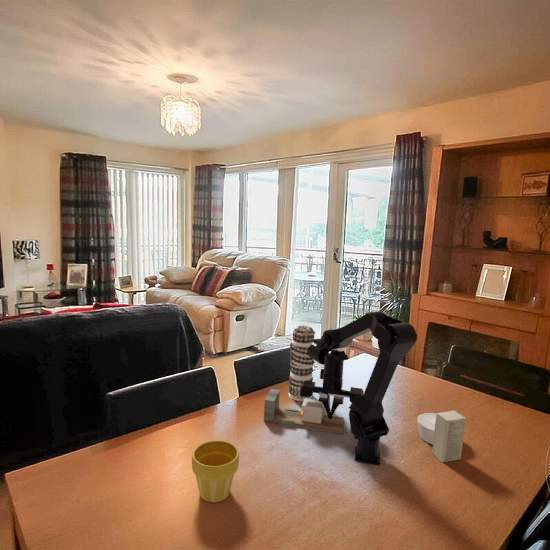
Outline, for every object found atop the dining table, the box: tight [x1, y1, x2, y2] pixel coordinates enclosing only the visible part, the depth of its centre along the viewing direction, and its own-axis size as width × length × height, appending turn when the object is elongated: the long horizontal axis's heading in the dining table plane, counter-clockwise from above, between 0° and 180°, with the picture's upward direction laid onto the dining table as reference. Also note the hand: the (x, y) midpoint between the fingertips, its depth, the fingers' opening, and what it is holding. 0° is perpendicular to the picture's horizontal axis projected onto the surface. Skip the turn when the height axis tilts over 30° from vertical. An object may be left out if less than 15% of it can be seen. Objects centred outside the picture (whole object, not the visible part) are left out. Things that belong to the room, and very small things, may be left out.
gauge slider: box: [300, 398, 324, 424], centre depth 116 cm, size 8×6×5 cm
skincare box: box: [431, 410, 467, 463], centre depth 103 cm, size 6×4×12 cm
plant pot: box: [191, 439, 240, 504], centre depth 86 cm, size 10×10×10 cm
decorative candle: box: [287, 325, 316, 402], centre depth 134 cm, size 9×9×25 cm
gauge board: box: [263, 388, 345, 435], centre depth 118 cm, size 9×24×7 cm, turn 77°
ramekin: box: [416, 412, 437, 446], centre depth 112 cm, size 11×11×5 cm
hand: (329, 418), depth 117 cm, fingers closed
